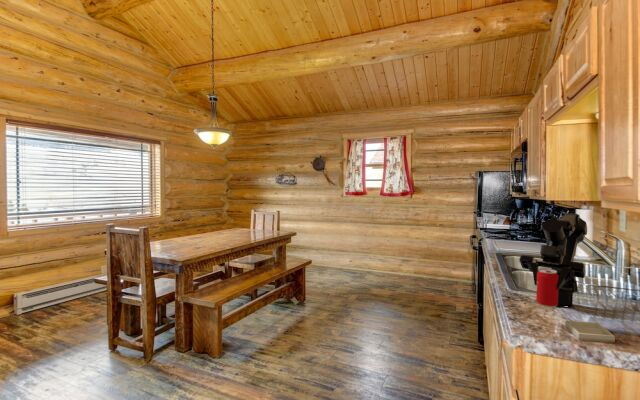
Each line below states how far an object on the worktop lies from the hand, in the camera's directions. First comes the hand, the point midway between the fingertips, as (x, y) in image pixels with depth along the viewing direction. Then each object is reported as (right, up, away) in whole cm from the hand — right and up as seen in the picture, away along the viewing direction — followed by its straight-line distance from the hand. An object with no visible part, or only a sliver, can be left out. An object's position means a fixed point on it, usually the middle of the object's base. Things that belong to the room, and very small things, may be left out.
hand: (546, 286), depth 117 cm
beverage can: (+1, -7, +2) cm, 7 cm away
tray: (+10, -14, -6) cm, 18 cm away
